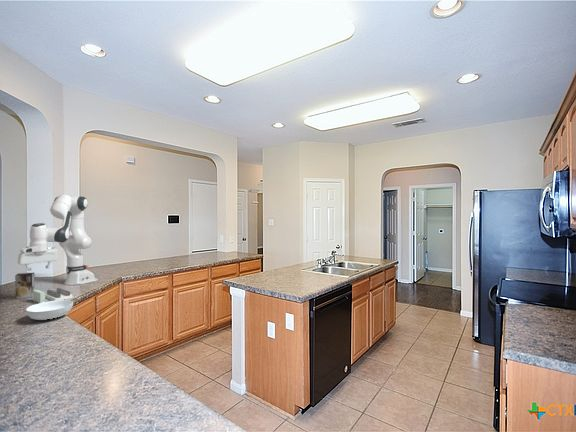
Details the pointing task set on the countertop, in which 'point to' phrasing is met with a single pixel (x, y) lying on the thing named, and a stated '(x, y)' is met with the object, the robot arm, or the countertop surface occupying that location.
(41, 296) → the door panel
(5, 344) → the countertop surface
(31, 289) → the coffee box
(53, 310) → the serving bowl
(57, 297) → the floor track
